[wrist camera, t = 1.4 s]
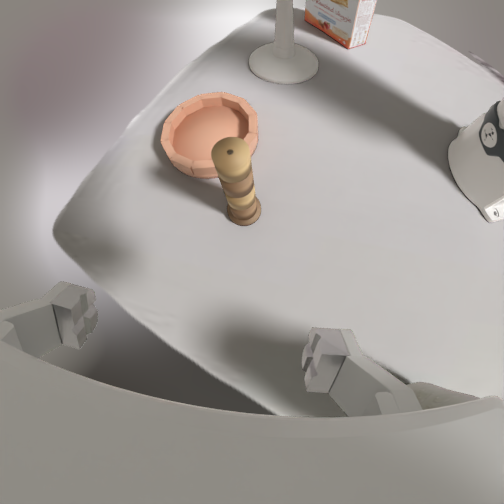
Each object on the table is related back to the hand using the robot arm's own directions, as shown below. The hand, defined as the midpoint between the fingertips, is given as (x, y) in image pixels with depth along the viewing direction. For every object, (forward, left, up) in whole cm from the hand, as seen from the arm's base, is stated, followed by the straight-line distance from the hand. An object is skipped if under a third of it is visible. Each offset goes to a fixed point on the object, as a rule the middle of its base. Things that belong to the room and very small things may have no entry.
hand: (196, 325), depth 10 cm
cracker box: (-18, -57, -26) cm, 66 cm away
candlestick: (-6, -44, -26) cm, 52 cm away
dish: (+6, -26, -26) cm, 37 cm away
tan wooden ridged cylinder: (+1, -14, -26) cm, 30 cm away
